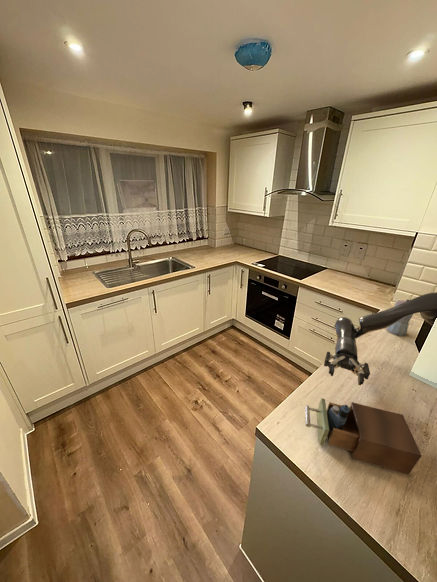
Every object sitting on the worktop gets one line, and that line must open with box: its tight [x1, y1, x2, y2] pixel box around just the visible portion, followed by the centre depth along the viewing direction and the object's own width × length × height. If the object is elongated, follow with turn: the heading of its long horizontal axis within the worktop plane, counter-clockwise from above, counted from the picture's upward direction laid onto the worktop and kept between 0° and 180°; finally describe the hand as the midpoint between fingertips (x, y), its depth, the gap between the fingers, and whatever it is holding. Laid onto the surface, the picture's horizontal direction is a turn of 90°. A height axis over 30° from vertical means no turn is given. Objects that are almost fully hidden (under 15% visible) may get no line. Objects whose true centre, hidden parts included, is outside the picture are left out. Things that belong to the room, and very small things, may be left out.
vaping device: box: [327, 404, 350, 431], centre depth 73 cm, size 3×5×12 cm, turn 24°
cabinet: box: [349, 401, 423, 476], centre depth 71 cm, size 15×13×9 cm
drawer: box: [304, 397, 360, 452], centre depth 74 cm, size 18×11×7 cm, turn 73°
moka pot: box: [386, 299, 414, 337], centre depth 126 cm, size 10×15×20 cm, turn 112°
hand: (346, 378), depth 79 cm, fingers open, 8 cm apart
